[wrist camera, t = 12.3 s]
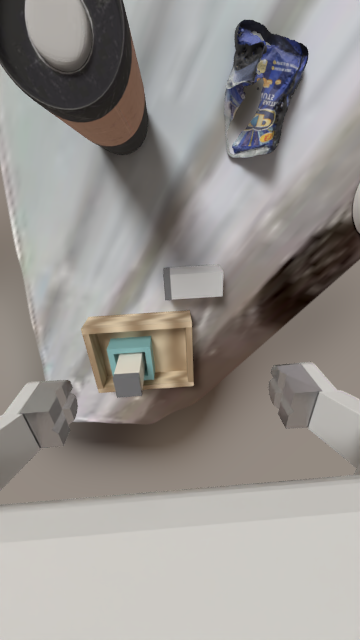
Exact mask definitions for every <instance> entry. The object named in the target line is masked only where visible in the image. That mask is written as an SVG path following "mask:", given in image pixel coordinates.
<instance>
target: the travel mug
mask: <svg viewBox="0 0 360 640" xmlns="http://www.w3.org/2000/svg"><path fill="white" fill-rule="evenodd" d="M0 64H1V65H2V67H3V68H4V70H5V71H6V73H7V74H8V75H9V76H10V78H11V79H12V80H13V81H14V82H15V84H16V85H17V86H18V87H19V88H20V89H21V90H22V91H23V92H24V93H25V94H27V95H28V96H29V97H30V98H32V99H33V100H34V101H35V102H37V103H38V104H40V105H41V106H42V107H44V108H45V109H47V110H48V111H49V112H51V113H52V114H54V115H55V116H56V117H58V118H59V119H60V120H62V121H63V122H65V123H66V124H67V125H69V126H70V127H72V128H73V129H74V130H76V131H77V132H78V133H80V134H81V135H83V136H84V137H85V138H87V139H88V140H90V141H92V142H93V143H95V144H97V145H99V146H101V147H103V148H104V149H106V150H108V151H110V152H113V153H116V154H121V155H124V154H129V153H132V152H134V151H135V150H137V149H138V148H139V147H140V146H141V144H142V143H143V141H144V139H145V136H146V133H147V127H148V117H147V109H146V101H145V94H144V87H143V83H142V79H141V74H140V70H139V66H138V62H137V58H136V53H135V49H134V45H133V41H132V37H131V33H130V28H129V24H128V20H127V16H126V12H125V7H124V3H123V0H0Z"/></svg>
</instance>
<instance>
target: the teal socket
mask: <svg viewBox="0 0 360 640" xmlns="http://www.w3.org/2000/svg"><path fill="white" fill-rule="evenodd" d="M136 352H145V356H146V363H147V364H146V365H145V373H144V380H154V376H155V363H154V355H153V347H152V339H151V336H142V337H127V338H113V339H110V342H109V345H108V347H107V353H108V358H109V362H110V366H111V370H112V375H114V372H115V368H116V365H117V361H118V358H119V354H121V353H136Z"/></svg>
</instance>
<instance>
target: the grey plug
mask: <svg viewBox="0 0 360 640" xmlns="http://www.w3.org/2000/svg"><path fill="white" fill-rule="evenodd" d="M163 277H164V289H165V300H174V299H189V298H204V297H219V296H223V270H222V269H221V267H220V266H219V265H218V264H217V265H201V266H185V267H169V268H164V270H163Z"/></svg>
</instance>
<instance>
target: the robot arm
mask: <svg viewBox="0 0 360 640" xmlns="http://www.w3.org/2000/svg"><path fill="white" fill-rule="evenodd" d="M353 219H354V224H355V226H356V229H357V231H358V232H359V233H360V183H359V186H358V188H357V191H356V194H355V198H354V203H353ZM271 374H272V376H273V378H272V379H271V380H270V382H269V395H270V398H271V401H272V403H273V405H275V406H276V407H277V408H279V412H278V415H279V416H280V419H281V420H282V422H283V424H284V426H285V428H305V427H308V429H309V430H310V431H312V432H313V433H314V434H315V435H317V436H318V437H319V438H320V439H321V440H323V441H324V442H325V443H326V444H328V445H329V446H330V447H331V448H332V449H334V450H335V451H336V452H337V453H339V454H340V455H341V456H342V457H343V458H345V459H346V460H347V461H348V462H350V463H351V464H352V465H353V466H354V467H356V468H357V469H356V471H355V473H354V475H352V476H339V477H327V478H315V479H304V480H291V481H279V482H268V483H256V484H244V485H232V486H220V487H210V488H209V487H208V488H196V489H184V490H173V491H161V492H148V493H137V494H124V495H112V496H101V497H89V498H76V499H65V500H52V501H40V502H29V503H17V504H5V505H0V640H360V399H358V398H356V397H354V396H352V395H350V394H348V393H346V392H344V391H342V390H337V389H336V388H335V387H334V386H333V385H332V383H331V382H330V381H329V380H328V379H327V378H326V377H325V376H324V375H323V373H322V372H321V371H320V370H319V369H318V368H317V366H316V365H315V364H314V363H312V362H304V363H297V364H283V365H273V367H272V370H271ZM72 388H73V387H72V385H71V382H70V381H68V380H57V381H42V382H29V383H27V384H26V385H25V386H24V388H23V389H22V390H21V391H20V393H19V394H18V395H17V397H16V398H15V399H14V401H13V402H12V403H11V405H10V406H9V408H8V409H7V410H6V412H5V413H4V415H3V416H0V490H1V489H2V488H3V487H4V486H5V485H6V484H7V483H8V482H9V481H10V480H11V479H12V478H13V477H14V476H15V475H16V474H17V473H18V472H19V471H20V470H21V469H22V468H23V467H24V466H25V465H26V464H27V463H28V462H29V461H30V460H31V459H32V458H33V457H34V456H35V455H36V454H37V453H38V451H40V448H49V447H58V446H64V444H65V441H66V439H67V437H68V434H69V432H70V428H69V426H68V425H69V424H70V423H71V422H72V421H74V419H75V417H76V414H77V407H78V405H77V399H76V396H75V395H74V394H72V393H71V390H72Z"/></svg>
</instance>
